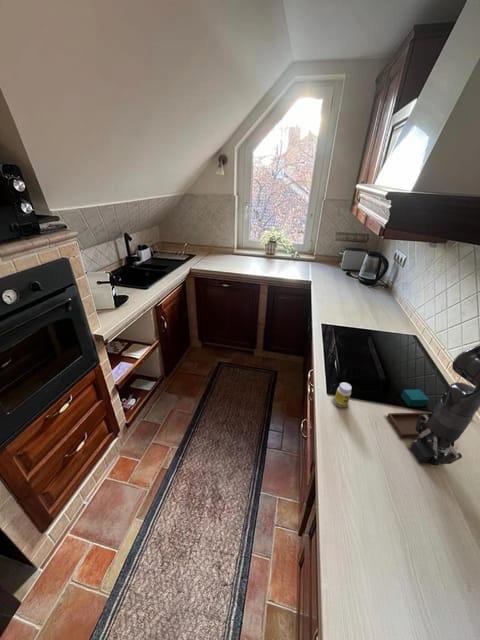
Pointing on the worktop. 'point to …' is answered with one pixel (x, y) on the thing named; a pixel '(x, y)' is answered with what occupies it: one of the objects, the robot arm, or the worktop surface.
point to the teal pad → (414, 397)
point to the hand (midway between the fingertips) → (425, 454)
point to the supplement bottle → (343, 394)
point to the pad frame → (406, 423)
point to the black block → (422, 451)
